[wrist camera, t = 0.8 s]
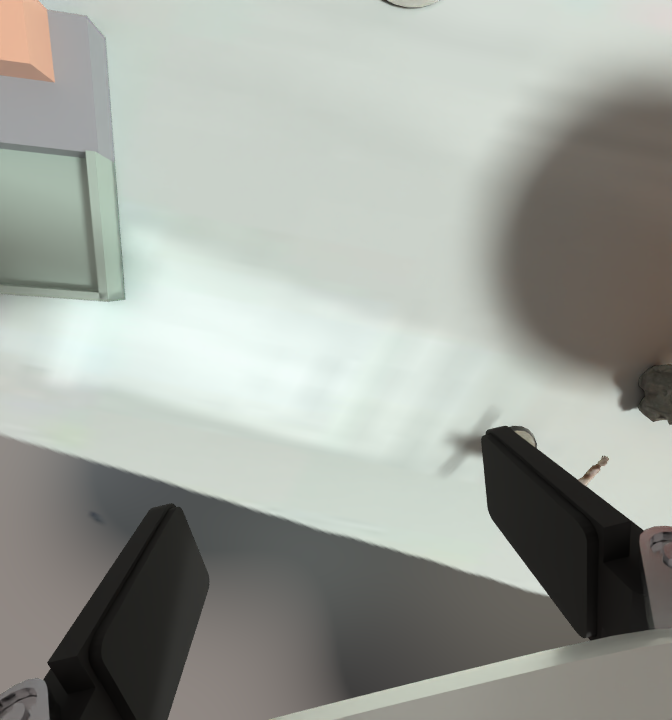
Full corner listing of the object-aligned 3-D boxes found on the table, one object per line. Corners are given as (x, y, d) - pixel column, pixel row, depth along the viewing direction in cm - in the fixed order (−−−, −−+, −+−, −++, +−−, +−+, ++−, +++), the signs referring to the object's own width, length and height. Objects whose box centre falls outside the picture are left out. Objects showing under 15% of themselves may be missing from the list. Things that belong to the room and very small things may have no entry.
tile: (-22, -2, 26) (-57, -30, 23) (47, 9, 26) (20, -18, 24) (-11, 73, 27) (-43, 53, 24) (54, 82, 27) (30, 63, 25)
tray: (-84, 140, 29) (-127, 125, 27) (114, 163, 31) (95, 151, 28) (-54, 286, 33) (-89, 287, 30) (125, 299, 34) (108, 301, 31)
